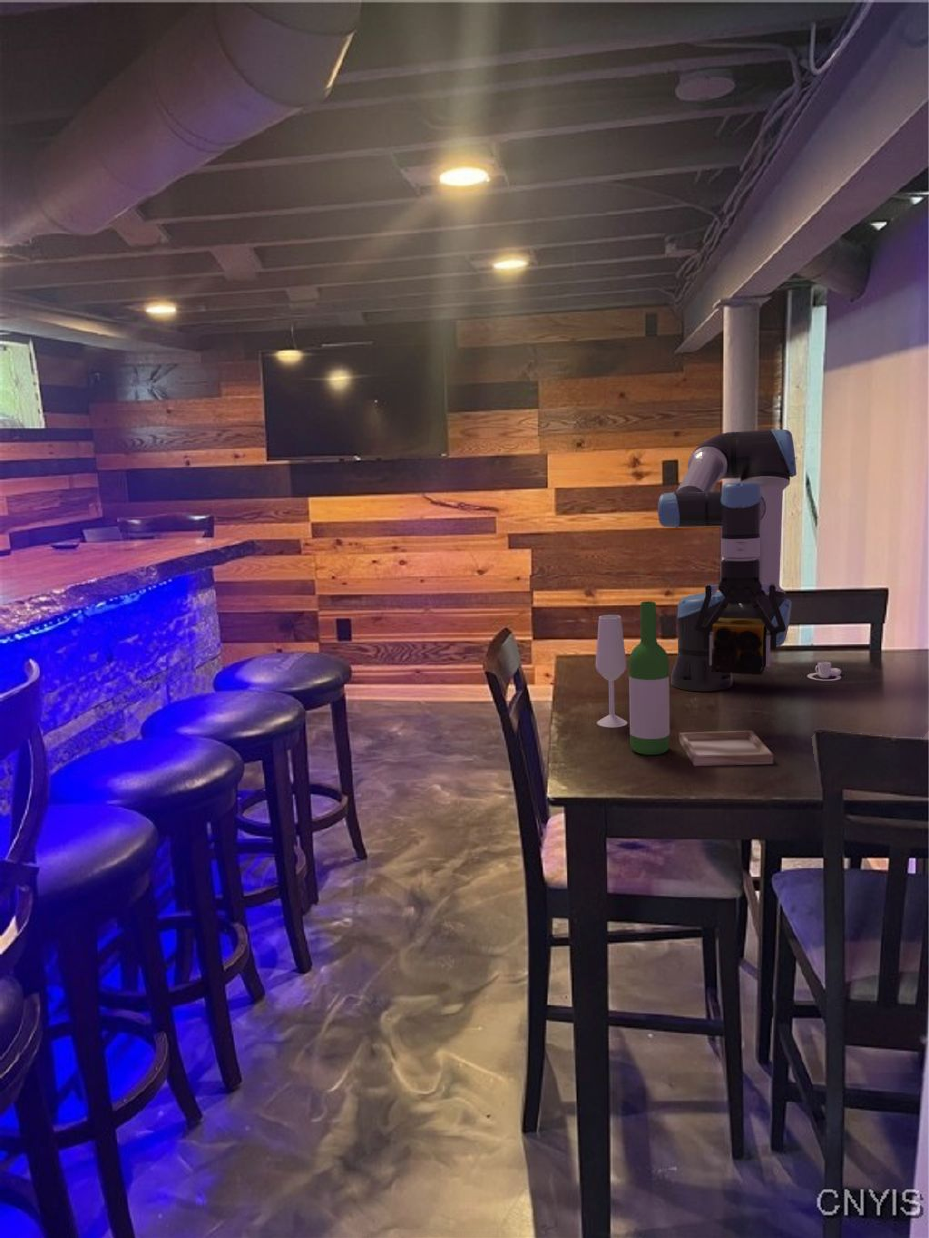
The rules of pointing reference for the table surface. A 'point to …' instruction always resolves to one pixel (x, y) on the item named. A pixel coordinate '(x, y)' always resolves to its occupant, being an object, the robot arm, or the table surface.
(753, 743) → the slot frame
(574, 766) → the table surface
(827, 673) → the teacup and saucer
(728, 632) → the candle
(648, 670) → the wine bottle
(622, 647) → the champagne flute
